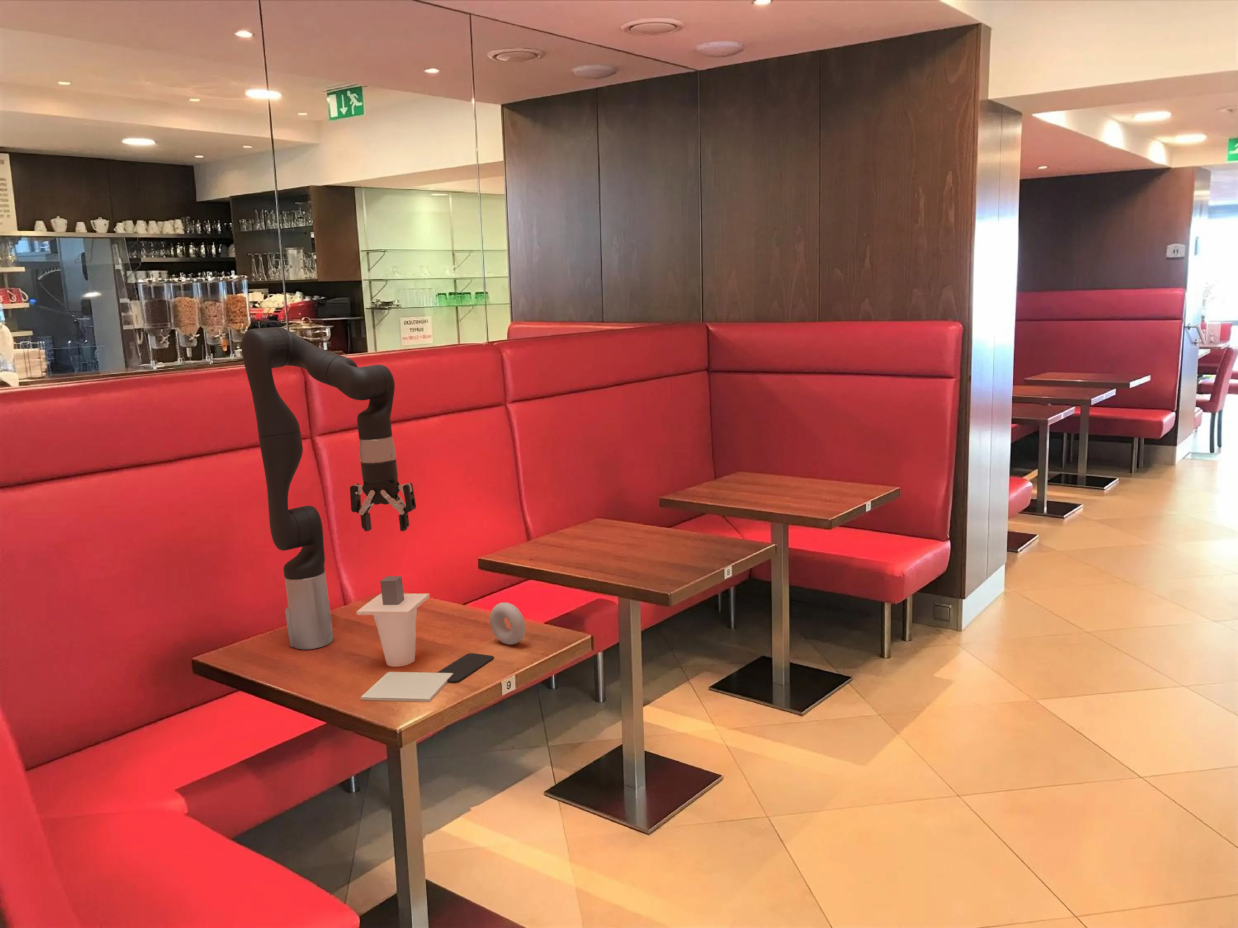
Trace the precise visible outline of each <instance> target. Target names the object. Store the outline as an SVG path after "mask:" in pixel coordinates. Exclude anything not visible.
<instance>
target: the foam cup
mask: <svg viewBox="0 0 1238 928" xmlns="http://www.w3.org/2000/svg"><path fill="white" fill-rule="evenodd" d="M417 609H418V608H416V609H415V610H414V611H413V612H412V613H410V614H409V615H373V621H375V624H376V628H377V629H376V630H377V632H378V637H379V640H380V644H381V647H382V651H383V652H382V653H383V656H384V659H385V663H386V665H387V666H388V667H393V668H394V667H403V666H407V665H410V664H413V663H414V662H415V661H416V659H415V658H416V641H417V639H416V636H417V635H416V634H417V633H416V632H417V615H418V612H417V611H418V610H417Z"/></svg>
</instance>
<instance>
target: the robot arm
mask: <svg viewBox="0 0 1238 928" xmlns="http://www.w3.org/2000/svg"><path fill="white" fill-rule="evenodd" d="M240 349H241V355H242V361H243V365H244V369H245V372H246V375H247V381H248V385H249V389H250V392H251V396H252V397H251V398H252V403H253V407H254V413H255V414H254V415H255V420H256V424H257V425H256V427H257V435H258V436H257V437H258V441H259V442H258V443H259V447H260V453H261V458H262V459H261V460H262V464H263V470H264V477H265V483H266V493H267V507H268V520H269V528H270V529H269V530H270V534H271V539H272V542H273V544H274V546H275V548H276V549H278V550H279V551H282V552H283V551H289V550H294V549H297V548H301V550H299V552H298V553H297V555H295V556H294V557H292V558H291V559H290V560H289V561H287V562H286V563H285V564H284V566H283V569H282V570H283V576H284V583H285V584H284V585H285V591H286V592H285V593H286V598H287V607H286V608H285V610H284V612H285V619H286V625H287V626H286V627H287V632H288V633H287V635H288V641H289V647H290V648H295V649H297V650H314V649H318V648H323V647H326V646H327V645H330V644H331V643H333V641H334V639H335V638H334V634H333V633H334V631H333V624H332V623H333V622H332V616H331V615H332V614H331V609H330V607H331V606H330V600H329V593H328V585H327V579H326V578H327V576H326V571H325V570H326V568H325V562H326V555H325V554H326V553H325V544H324V543H325V542H324V530H323V529H324V528H323V522H322V517H321V515H320V512H319V511H318V510H317V508H316V507H315V506H312V505H304V506H299V507H293V508H290V509H289V490H290V488H291V487H290V486H291V483H292V481H293V478H294V477H295V474H296V473H297V470H298V468H299V465H300V462H301V459H302V456H303V451H304V447H303V440H302V432H301V427H300V424H299V421H298V419H297V417H296V416H295V414H294V413H293V411H292V410H291V409H290V407H289V406H288V405H287V403H286V402H285V401H284V400H283V398H282V397H281V395H280V394H279V392H278V389H277V388H276V384H275V380H274V376H273V375H274V374H273V369H276V368H277V369H278V368H283V367H285V366H286V367H287V366H289V367H290V366H291V367H298V368H302V369H305V370H306V371H307V373H308V375H310V377H311V378H313V379H314V380H316V381H318V382H320V383H322V384H325V385H328V386H331V387H333V388H335V389H337V390H338V391H339V392H341V393H343V394H344V395H345V396H346V397H348V398H350V399H353V400H354V401H355V400H356V401H369V402H368V405H367V408H366V409H364V410H362V411H360V412H359V413H358V414H357V417H356V421H357V423H356V425H357V433H358V439H359V440H358V443H359V445H358V452H359V459H360V460H359V461H360V470H361V478H362V481H363V482H362V483H363V484H360V483H354V484H352V485H351V486H350V487H349V494H350V495H349V498H350V510H351V512H352V513H356V514H359V516H360V523H361V528H362V530H364V532H369V531H371V530H372V519H371V513H370V510H371V508H372V507H373V505H374V506H377V505H391V507H392V508H394V509H395V510H396V511H397V512H398V513H399V514H398V521H399V530H400V532H405V531H407V530H408V528H409V527H410V519H409V518H410V517H409V513H410V512H412V511H414V510H416V509H417V504H416V497H415V491H414V485H413V483H412V482H408V483H404V484H400V483H399V477H398V476H399V475H398V474H399V473H398V465H397V452H396V446H395V442H394V439H393V430H392V421H391V415H392V409H393V404H394V403H393V402H394V397H395V390H396V389H395V379H394V376H393V373H392V371H391V370H390V369H389V368H388V366H387V365H383V364H371V365H365V366H358V364H357V363H356V362H355V361H354V360H353V359H351V358H350V357H347V356H344V355H341V354H337V353H335V352H332V351H329V350H326V349H324V348H321V347H318V346H316V345H315V344H312V343H311V342H310V341H307V340H305V339H303V338H302V337H300V336H298V335H297V334H295V333H294V332H292V331H290V330H289V329H286V328H283V327H279V326H278V327H277V326H276V327H275V326H274V327H259V328H252V329H251V328H250V329H248V330H247V331H245V332H244V333H243V335H242V338H241V346H240ZM400 491H401V493H402V495H404V496H403V497H404V499H403V498H402V497H401V496H400V495H399V493H400ZM363 493H364V495H365V496H366V498H365V499H364V501H363V503H362V499H361V497H362V496H361V495H362V494H363ZM404 501H405V502H404Z"/></svg>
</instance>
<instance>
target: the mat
mask: <svg viewBox="0 0 1238 928" xmlns="http://www.w3.org/2000/svg"><path fill="white" fill-rule="evenodd" d="M452 675H453V673H437V672H418V671H417V672H416V671H415V672H413V671H412V672H411V671H403V672H402V671H388V672H386V673H385V674H384V675H383V676H382V677H381V678H380V679H379V680H378V681H376V682H375V684H373V685H372V686H371V687H370V688H369V689H368V690H367V691H365V692H364V693H363V694H362V695H361V696H360V701H382V702H383V701H385V702H389V701H390V702H420V703H421V702H423V703H425V702H426V703H428V702H429V703H430V702H431V701H432V700H433V699H434V698H435V697H436V696H437V695H438V693H440V691H441V690H442V689H443V688H444V687H445V686H446V685H447V684H448V683H447V680H448V679H449V678H450V677H451V676H452Z"/></svg>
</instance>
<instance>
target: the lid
mask: <svg viewBox="0 0 1238 928" xmlns="http://www.w3.org/2000/svg"><path fill="white" fill-rule="evenodd" d="M379 582H380V591H381V593H380V594H377V596H375V597H373V598H372V599H371V600H370V601H368V602H367V603H365V604H364V605H363V606H362V607H360V608H359V609H358V610H357V611H356V615H357V616H374V615H409V614H410V613H412V612H413V611H414V610H415V609H418V608H419V607H420V606H421V605H422V604H424V602H425V601H427V600H428V599H430V594H431V593H405V592H404V585H403V577H402V575H390V576H389V575H387V576H386V577H384V578H383V579H381V580H380V581H379Z"/></svg>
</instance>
